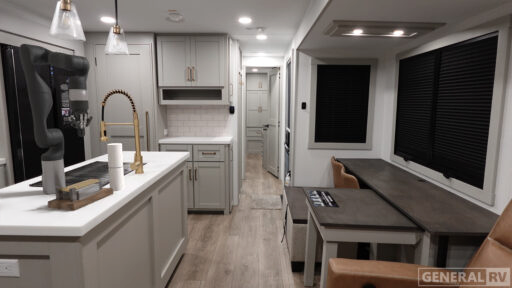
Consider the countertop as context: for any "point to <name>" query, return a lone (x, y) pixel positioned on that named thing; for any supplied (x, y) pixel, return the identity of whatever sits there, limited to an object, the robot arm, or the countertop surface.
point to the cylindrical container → (115, 166)
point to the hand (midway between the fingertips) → (81, 136)
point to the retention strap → (79, 185)
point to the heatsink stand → (79, 196)
